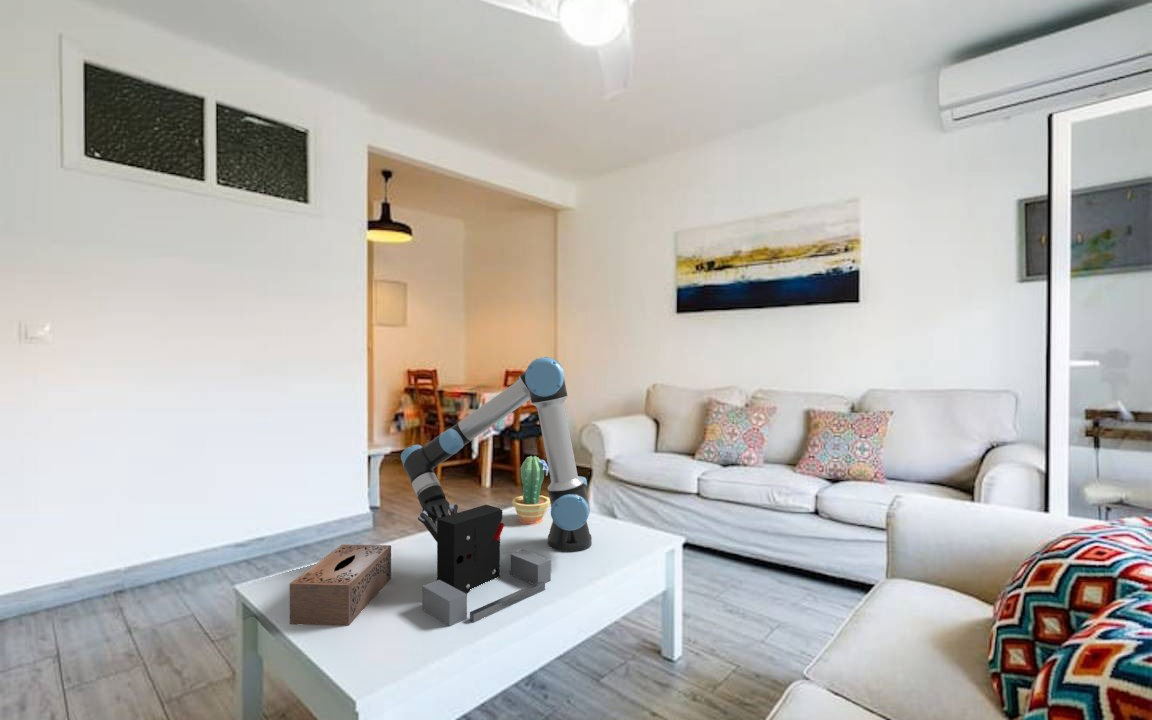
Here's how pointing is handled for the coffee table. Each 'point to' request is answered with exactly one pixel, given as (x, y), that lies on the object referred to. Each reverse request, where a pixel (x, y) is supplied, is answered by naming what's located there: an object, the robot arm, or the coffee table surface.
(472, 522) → the electrical component
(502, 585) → the coffee table surface
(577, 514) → the robot arm
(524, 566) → the block
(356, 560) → the tissue box cover
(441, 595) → the block
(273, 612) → the coffee table surface
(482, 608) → the metal rail
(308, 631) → the coffee table surface
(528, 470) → the potted cactus
